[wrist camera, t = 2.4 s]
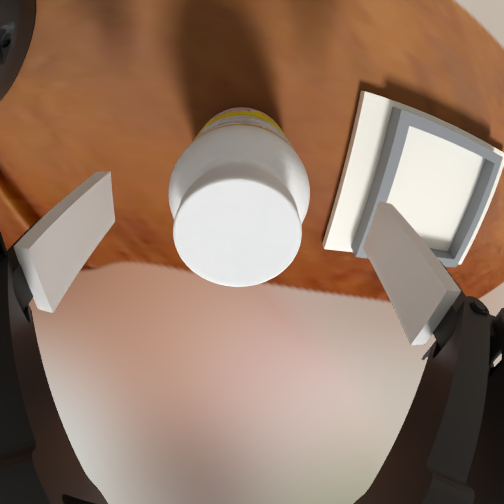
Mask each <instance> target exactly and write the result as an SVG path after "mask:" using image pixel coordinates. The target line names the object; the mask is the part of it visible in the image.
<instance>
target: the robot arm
mask: <svg viewBox="0 0 504 504" xmlns="http://www.w3.org/2000/svg"><path fill="white" fill-rule="evenodd" d="M34 20H35V0H0V101H1V99H2V98H3V97H4V96H5V94H6V93H7V92H8V90H9V89H10V87H11V86H12V84H13V82H14V80H15V79H16V77H17V75H18V73H19V71H20V68H21V66H22V64H23V61H24V59H25V56H26V53H27V50H28V47H29V44H30V40H31V36H32V32H33V27H34ZM114 222H115V216H114V206H113V196H112V185H111V171H97V172H96V173H94V174H93V175H92V176H90V177H89V178H88V179H87V180H85V181H84V182H83V183H82V184H80V185H79V186H78V187H77V188H76V189H74V190H73V191H72V192H71V193H70V194H68V195H67V196H66V197H65V198H64V199H63V200H61V201H60V202H59V203H58V204H57V205H56V206H55V207H53V208H52V209H51V210H50V211H49V212H48V213H47V214H46V215H45V216H44V217H43V218H41V219H39V220H38V221H36V222H35V223H34V224H33V225H32V226H31V227H30V228H29V230H27V231H26V232H25V233H24V235H22V236H21V237H20V238H19V239H18V240H17V241H16V242H15V243H14V244H13V245H12V246H11V247H10V248H9V250H8V251H7V250H6V247H5V244H4V241H3V238H2V235H1V232H0V504H108V503H107V501H106V500H105V498H104V497H103V495H102V494H101V492H100V491H99V490H98V488H97V487H96V486H95V485H94V484H93V483H92V482H91V481H90V479H89V478H88V477H87V475H86V474H85V472H84V470H83V468H82V466H81V464H80V462H79V460H78V458H77V456H76V454H75V452H74V450H73V448H72V446H71V443H70V441H69V439H68V436H67V434H66V432H65V429H64V427H63V424H62V422H61V419H60V417H59V414H58V411H57V408H56V406H55V403H54V400H53V397H52V394H51V391H50V388H49V384H48V382H47V378H46V374H45V371H44V367H43V363H42V359H41V355H40V351H39V347H38V343H37V338H36V333H35V327H34V322H33V317H32V311H31V309H30V307H29V302H30V301H31V299H32V298H34V301H35V302H36V305H37V307H38V309H40V310H44V311H48V312H51V313H53V312H54V311H55V309H56V307H57V306H58V304H59V302H60V301H61V299H62V297H63V296H64V294H65V293H66V291H67V289H68V288H69V286H70V285H71V283H72V282H73V280H74V278H75V277H76V275H77V274H78V272H79V271H80V269H81V268H82V266H83V265H84V264H85V262H86V261H87V259H88V258H89V256H90V255H91V253H92V252H93V251H94V249H95V248H96V246H97V245H98V244H99V242H100V241H101V240H102V238H103V237H104V236H105V234H106V233H107V232H108V230H109V229H110V228H111V226H112V225H113V224H114ZM363 249H364V250H365V252H366V254H367V256H368V258H369V260H370V262H371V263H372V265H373V267H374V269H375V271H376V273H377V275H378V277H379V279H380V281H381V283H382V285H383V287H384V289H385V291H386V293H387V295H388V297H389V299H390V301H391V303H392V305H393V307H394V309H395V311H396V313H397V315H398V318H399V320H400V322H401V325H402V327H403V329H404V331H405V334H406V336H407V338H408V340H409V343H410V345H419V344H425V343H426V342H427V341H428V339H429V338H430V337H431V335H432V334H434V336H435V338H436V341H435V342H434V344H433V345H432V346H431V347H430V349H429V350H428V351H427V352H426V354H425V355H424V356H423V358H422V359H423V360H424V359H425V358H426V357H428V360H427V363H426V366H425V369H424V372H423V375H422V378H421V381H420V384H419V386H418V389H417V392H416V395H415V397H414V400H413V402H412V405H411V407H410V409H409V412H408V414H407V416H406V419H405V421H404V424H403V426H402V428H401V430H400V432H399V434H398V436H397V439H396V441H395V443H394V445H393V447H392V449H391V451H390V452H389V455H388V456H387V458H386V460H385V462H384V464H383V466H382V467H381V469H380V471H379V473H378V474H377V476H376V478H375V480H374V481H373V483H372V485H371V486H370V488H369V489H368V490H367V492H366V493H365V494H364V495H363V496H362V497H360V498H359V499H358V500H357V501H356V502H355V503H354V504H504V308H502V309H501V310H500V312H499V314H498V315H497V316H496V317H495V316H492V315H490V314H489V311H488V309H487V307H486V306H485V305H484V304H483V303H482V302H481V301H480V300H478V299H477V298H475V297H472V296H468V297H466V296H465V294H464V293H463V291H462V290H461V288H460V287H459V286H458V284H457V283H456V281H455V280H454V279H453V278H452V276H451V274H450V273H449V272H447V269H446V268H445V266H444V265H443V264H442V262H440V261H439V260H438V259H437V257H436V256H435V255H434V253H433V252H432V251H431V250H430V248H429V247H428V246H427V245H426V243H425V242H424V241H423V240H422V238H421V237H420V236H419V235H418V234H417V232H416V231H415V230H414V229H413V228H412V226H411V225H410V224H409V223H408V222H407V221H406V219H405V218H404V217H403V216H402V215H401V214H400V213H399V212H398V210H397V209H396V208H395V207H394V206H393V205H392V204H390V203H385V202H380V201H379V203H378V206H377V209H376V212H375V215H374V218H373V220H372V223H371V226H370V229H369V232H368V235H367V237H366V240H365V243H364V245H363ZM501 353H502V360H501V361H500V362H499V363H498V364H497V365H496V366H495V367H494V364H493V362H494V361H495V359H496V358H497V357H498V356H499V355H500V354H501Z"/></svg>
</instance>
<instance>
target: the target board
mask: <svg viewBox="0 0 504 504" xmlns="http://www.w3.org/2000/svg"><path fill="white" fill-rule="evenodd" d="M503 166H504V153H503V152H502V151H500V150H498V149H497V148H495V147H493V146H491V145H490V144H488V143H486V142H484V141H483V140H481V139H479V138H477V137H475V136H473V135H472V134H470V133H468V132H466V131H464V130H462V129H460V128H458V127H456V126H454V125H452V124H449V123H447V122H445V121H443V120H441V119H439V118H436V117H434V116H432V115H429V114H427V113H425V112H422V111H420V110H417V109H415V108H412V107H410V106H407V105H404V104H402V103H399V102H396V101H393V100H390V99H387V98H385V97H382V96H378V95H375V94H372V93H369V92H366V91H361V93H360V98H359V103H358V108H357V113H356V117H355V122H354V126H353V131H352V135H351V139H350V144H349V148H348V152H347V156H346V160H345V164H344V168H343V172H342V176H341V180H340V183H339V187H338V191H337V195H336V198H335V202H334V205H333V209H332V213H331V216H330V220H329V223H328V226H327V230H326V233H325V237H324V240H323V243H322V245H323V247H324V249H329V250H338V251H348V252H353V253H354V255H355V257H361V258H368V256H367V254H366V252H365V250H364V249H363V245H364V243H365V240H366V237H367V235H368V232H369V229H370V226H371V223H372V220H373V218H374V215H375V212H376V209H377V206H378V203H379V201H380V202H385V203H390V204H392V205H393V206H394V207H395V208H396V209H397V210H398V212H399V213H400V214H401V215H402V216H403V217H404V218H405V219H406V221H407V222H408V223H409V224H410V225H411V226H412V228H413V229H414V230H415V231H416V232H417V234H418V235H419V236H420V237H421V238H422V240H423V241H424V242H425V243H426V245H427V246H428V247H429V248H430V250H431V251H432V252H433V253H434V255H435V256H436V257H437V259H438V260H439V261H440V262H442V264H443V265H444V266H446V267H455V268H456V267H457V265H458V264H462V262H463V260H464V258H465V256H466V254H467V252H468V250H469V248H470V246H471V244H472V242H473V240H474V238H475V236H476V234H477V232H478V230H479V228H480V226H481V223H482V221H483V219H484V217H485V214H486V212H487V209H488V207H489V205H490V202H491V200H492V197H493V195H494V192H495V189H496V187H497V184H498V181H499V178H500V175H501V172H502V169H503Z"/></svg>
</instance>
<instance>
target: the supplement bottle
mask: <svg viewBox="0 0 504 504" xmlns="http://www.w3.org/2000/svg"><path fill="white" fill-rule="evenodd" d="M309 198H310V187H309V181H308V176H307V173H306V170H305V168H304V166H303V163H302V162H301V160H300V158H299V156H298V155H297V153H296V152H295V150H294V149H293V147H292V146H291V144H290V142H289V141H288V139H287V137H286V136H285V134H284V133H283V131H282V130H281V128H280V127H279V125H278V124H277V123H276V122H275V121H274V120H273V119H272V118H271V117H269V116H268V115H266V114H265V113H263V112H261V111H258V110H255V109H252V108H244V107H239V108H232V109H228V110H225V111H222V112H220V113H219V114H217V115H215V116H214V117H213V118H211V119H210V120H209V121H208V122H207V123H206V125H205V126H204V127H203V128H202V129H201V131H200V132H199V133H198V134H197V136H196V137H195V138H194V140H193V141H192V142H191V143H190V145H189V146H188V147H187V148H186V150H185V151H184V152H183V154H182V155H181V156H180V158H179V159H178V161H177V163H176V164H175V166H174V169H173V171H172V174H171V178H170V182H169V204H170V209H171V212H172V215H173V218H174V225H173V238H174V243H175V246H176V249H177V251H178V253H179V255H180V257H181V259H182V260H183V261H184V263H185V264H186V265H187V266H188V267H189V268H190V269H191V270H192V271H193V272H195V273H196V274H198V275H199V276H201V277H202V278H204V279H206V280H209V281H211V282H214V283H217V284H221V285H225V286H233V287H243V286H252V285H256V284H260V283H263V282H265V281H268V280H270V279H272V278H274V277H275V276H277V275H278V274H280V273H281V272H282V271H284V270H285V269H286V268H287V267H288V266H289V265H290V263H291V262H292V261H293V259H294V257H295V256H296V254H297V252H298V249H299V246H300V243H301V237H302V227H301V224H302V222H303V220H304V218H305V216H306V213H307V210H308V205H309Z"/></svg>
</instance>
